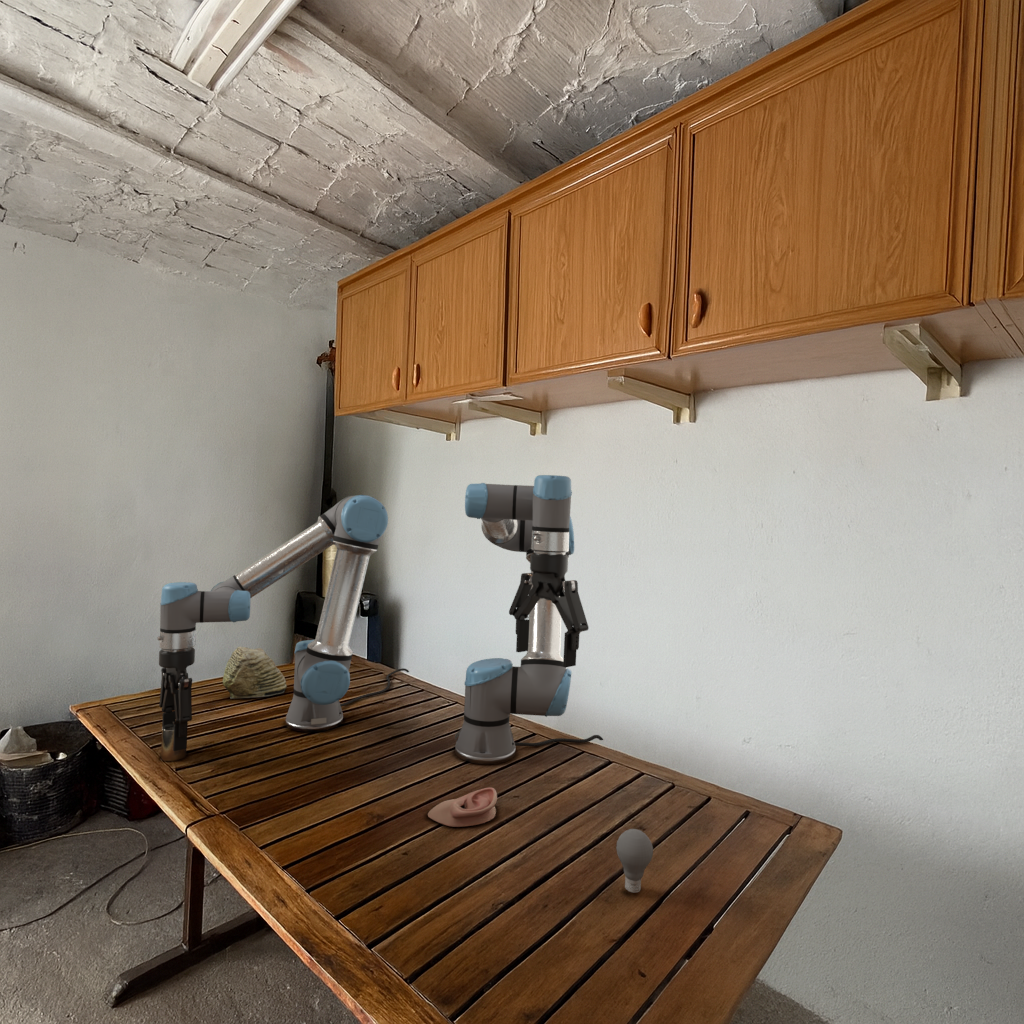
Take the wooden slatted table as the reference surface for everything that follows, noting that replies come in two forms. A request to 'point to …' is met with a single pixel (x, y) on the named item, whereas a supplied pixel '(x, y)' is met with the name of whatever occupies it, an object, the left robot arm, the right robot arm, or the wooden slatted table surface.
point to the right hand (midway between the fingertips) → (544, 658)
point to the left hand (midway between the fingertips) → (174, 744)
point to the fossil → (252, 674)
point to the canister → (170, 745)
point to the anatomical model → (466, 809)
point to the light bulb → (634, 857)
